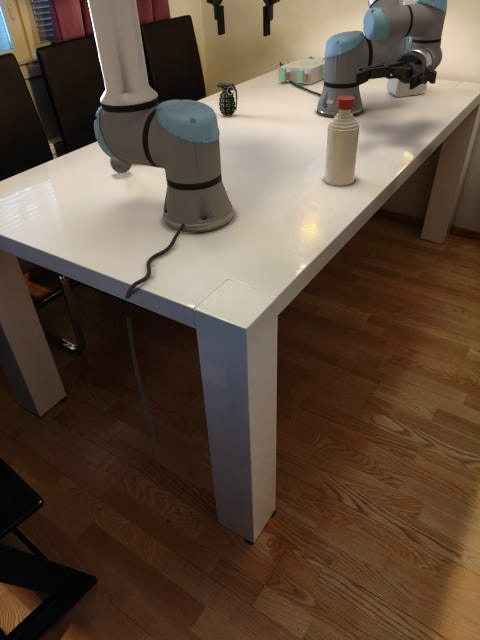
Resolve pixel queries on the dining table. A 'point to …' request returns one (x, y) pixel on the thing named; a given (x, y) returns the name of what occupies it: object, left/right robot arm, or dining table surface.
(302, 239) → the dining table surface
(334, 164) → the bottle
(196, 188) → the left robot arm
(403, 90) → the electronic device
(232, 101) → the grenade
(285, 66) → the decorative block
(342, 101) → the cap
